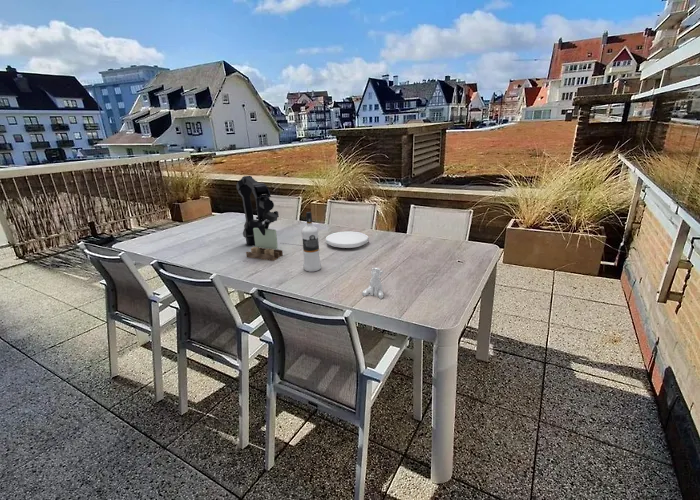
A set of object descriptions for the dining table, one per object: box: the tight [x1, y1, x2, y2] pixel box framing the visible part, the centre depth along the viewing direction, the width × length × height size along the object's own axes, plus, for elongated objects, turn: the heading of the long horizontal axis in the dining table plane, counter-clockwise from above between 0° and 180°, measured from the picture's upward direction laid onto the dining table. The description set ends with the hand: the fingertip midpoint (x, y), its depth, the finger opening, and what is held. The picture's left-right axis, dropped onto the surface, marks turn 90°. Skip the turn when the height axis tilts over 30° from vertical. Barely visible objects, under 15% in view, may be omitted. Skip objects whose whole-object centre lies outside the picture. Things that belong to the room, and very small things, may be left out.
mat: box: [280, 242, 303, 247], centre depth 211 cm, size 18×12×1 cm, turn 68°
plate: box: [325, 230, 370, 249], centre depth 216 cm, size 28×6×27 cm
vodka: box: [301, 211, 322, 273], centre depth 175 cm, size 9×9×30 cm
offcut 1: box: [250, 246, 261, 253], centre depth 196 cm, size 4×3×5 cm
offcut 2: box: [264, 248, 274, 255], centre depth 192 cm, size 4×3×5 cm
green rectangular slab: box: [253, 228, 279, 250], centre depth 195 cm, size 14×2×11 cm, turn 68°
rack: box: [245, 247, 284, 262], centre depth 196 cm, size 18×9×4 cm, turn 68°
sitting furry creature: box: [361, 267, 384, 300], centre depth 150 cm, size 10×9×12 cm
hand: (265, 234), depth 194 cm, fingers closed on green rectangular slab, 2 cm apart
